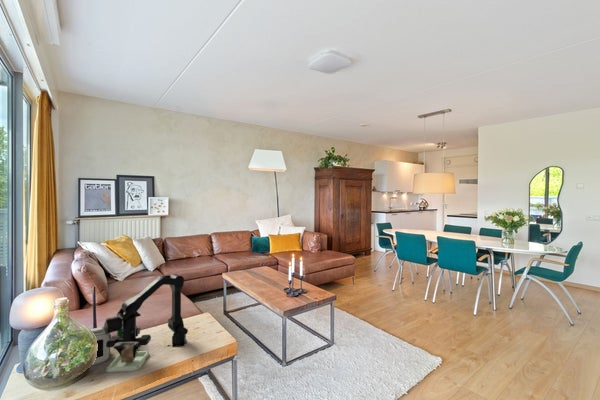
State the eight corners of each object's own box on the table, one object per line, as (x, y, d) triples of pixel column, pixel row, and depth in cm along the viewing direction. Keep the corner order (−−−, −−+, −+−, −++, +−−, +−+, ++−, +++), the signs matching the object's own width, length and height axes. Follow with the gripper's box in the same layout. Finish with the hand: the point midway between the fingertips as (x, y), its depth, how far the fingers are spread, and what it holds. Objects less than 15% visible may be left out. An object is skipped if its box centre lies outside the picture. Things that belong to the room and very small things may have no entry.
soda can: (125, 348, 156) (125, 326, 155) (113, 346, 157) (114, 324, 157) (135, 341, 163) (136, 320, 163) (124, 339, 164) (124, 319, 164)
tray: (148, 354, 150) (148, 350, 150) (138, 370, 136) (138, 366, 136) (120, 355, 148) (120, 352, 148) (106, 372, 134) (106, 368, 134)
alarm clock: (68, 371, 134) (69, 339, 134) (70, 360, 143) (70, 329, 143) (110, 360, 144) (110, 330, 144) (109, 350, 153) (109, 321, 153)
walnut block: (136, 356, 145) (136, 344, 145) (132, 362, 140) (132, 350, 140) (125, 357, 144) (125, 345, 144) (121, 362, 139) (121, 350, 139)
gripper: (154, 318, 151) (154, 347, 152) (116, 320, 149) (116, 350, 149) (147, 328, 140) (146, 359, 141) (105, 330, 138) (105, 362, 138)
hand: (128, 357), depth 142 cm, fingers closed on walnut block, 5 cm apart
